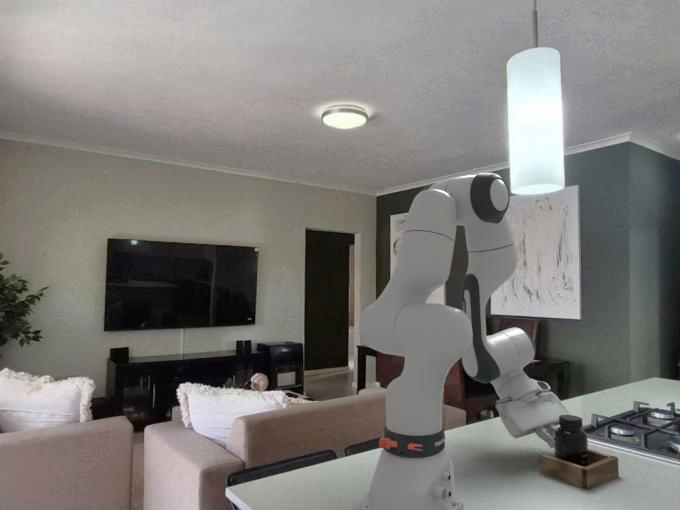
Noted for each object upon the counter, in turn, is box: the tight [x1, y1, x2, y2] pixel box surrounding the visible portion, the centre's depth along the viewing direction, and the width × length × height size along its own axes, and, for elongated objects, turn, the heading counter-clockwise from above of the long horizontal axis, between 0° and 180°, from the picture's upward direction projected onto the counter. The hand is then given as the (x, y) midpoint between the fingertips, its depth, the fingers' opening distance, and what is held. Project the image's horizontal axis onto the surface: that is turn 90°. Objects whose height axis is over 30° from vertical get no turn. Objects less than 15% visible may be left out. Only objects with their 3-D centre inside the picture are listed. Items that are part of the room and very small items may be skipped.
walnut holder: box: [538, 448, 620, 491], centre depth 109 cm, size 11×12×4 cm
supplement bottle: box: [554, 414, 589, 467], centre depth 111 cm, size 7×7×12 cm
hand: (557, 445), depth 113 cm, fingers closed
